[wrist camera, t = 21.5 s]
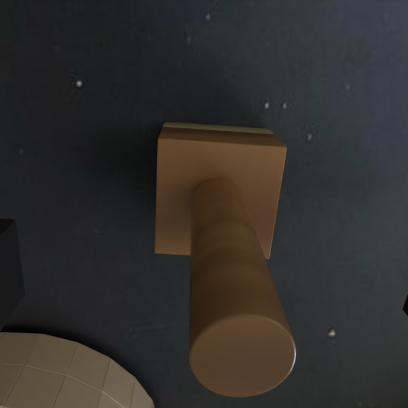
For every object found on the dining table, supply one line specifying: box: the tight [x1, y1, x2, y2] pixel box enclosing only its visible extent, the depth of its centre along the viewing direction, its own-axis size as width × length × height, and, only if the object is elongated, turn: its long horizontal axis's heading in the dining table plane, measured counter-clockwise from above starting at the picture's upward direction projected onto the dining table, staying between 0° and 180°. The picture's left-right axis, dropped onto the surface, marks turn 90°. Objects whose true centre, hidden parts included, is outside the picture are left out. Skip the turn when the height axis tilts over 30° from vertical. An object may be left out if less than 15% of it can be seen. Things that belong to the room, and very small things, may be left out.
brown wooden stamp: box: [155, 122, 296, 397], centre depth 16 cm, size 6×6×14 cm
